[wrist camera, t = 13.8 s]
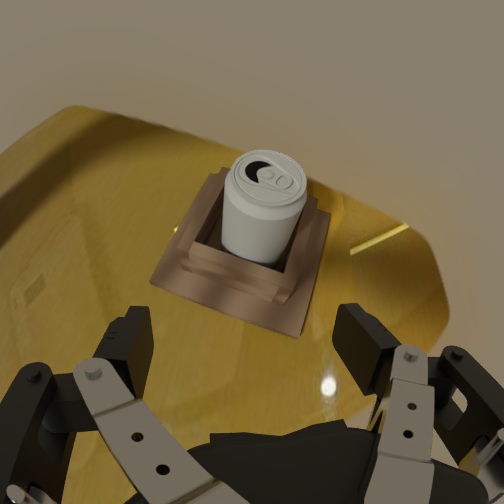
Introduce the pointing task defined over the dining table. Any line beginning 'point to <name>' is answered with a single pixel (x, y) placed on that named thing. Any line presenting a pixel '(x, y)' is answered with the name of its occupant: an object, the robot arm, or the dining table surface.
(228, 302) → the well
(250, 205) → the beverage can
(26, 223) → the dining table surface
